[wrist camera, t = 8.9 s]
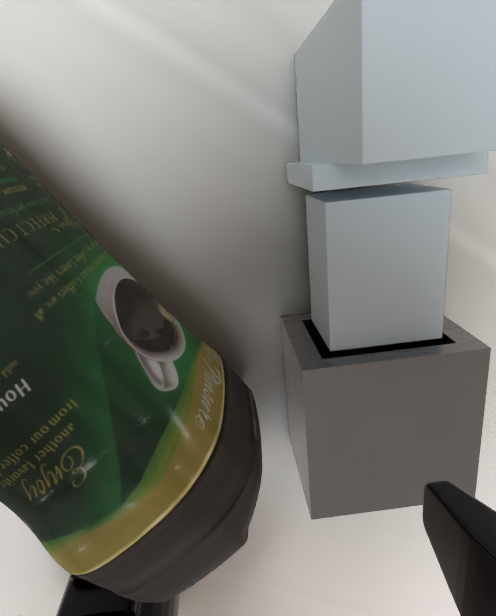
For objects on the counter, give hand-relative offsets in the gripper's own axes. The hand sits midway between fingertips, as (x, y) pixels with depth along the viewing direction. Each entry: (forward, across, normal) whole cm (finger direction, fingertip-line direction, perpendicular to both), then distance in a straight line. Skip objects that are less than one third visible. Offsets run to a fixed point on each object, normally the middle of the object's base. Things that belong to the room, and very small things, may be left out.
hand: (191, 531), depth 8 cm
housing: (+13, -7, +4) cm, 15 cm away
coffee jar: (+8, +11, -8) cm, 16 cm away
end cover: (+13, -7, -5) cm, 16 cm away
